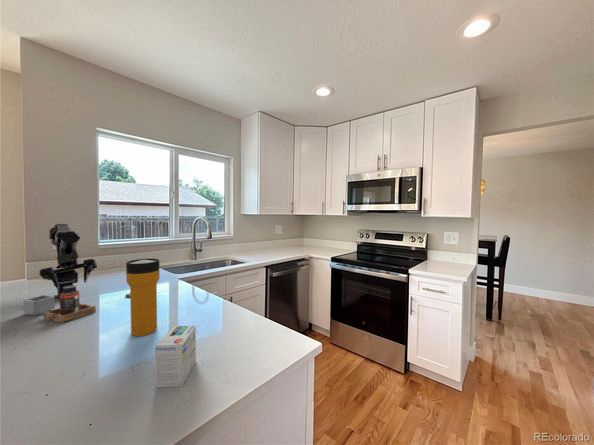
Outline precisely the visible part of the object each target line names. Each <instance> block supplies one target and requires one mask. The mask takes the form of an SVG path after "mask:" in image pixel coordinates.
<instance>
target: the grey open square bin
mask: <svg viewBox="0 0 594 445" xmlns="http://www.w3.org/2000/svg"><path fill="white" fill-rule="evenodd" d="M55 298H56V297H55V295H50V294H41V295H37V296H33V297H30V298H26V299H23V313H24V314H27V315H28V316H39V315H44V312H48V311H51V310H54V309H56V307H55V306H56V305H55V304H56V302H55V300H56V299H55Z"/></svg>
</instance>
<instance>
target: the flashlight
mask: <svg viewBox="0 0 594 445" xmlns="http://www.w3.org/2000/svg"><path fill="white" fill-rule="evenodd" d="M125 267H126V268H125V270H126V283H127V285H128V286H129V288H130V290H129V291H130V292H129V293H130V334H131V336H134V335H135V337H144V335H146V336H148V334H149V335H151V334H153V333H154V332H156V331H157V330H156V329H158V304H157V303H158V301H157V296H158V292H157V291H158V289H157V288H158V286H157V284H158V282H159V281H160V259H158V258H140V259H133V260H129V261H126V263H125ZM155 330H156V331H155ZM152 332H153V333H152ZM150 333H151V334H150Z"/></svg>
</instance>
